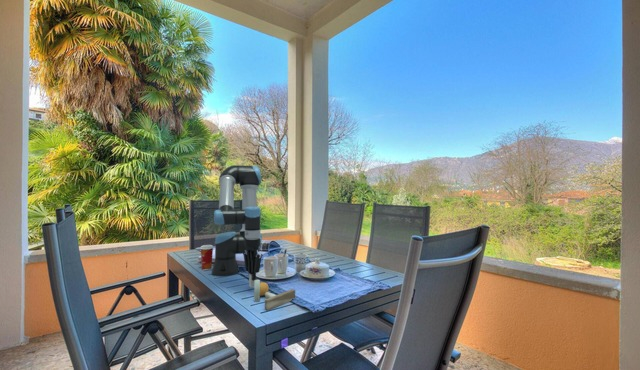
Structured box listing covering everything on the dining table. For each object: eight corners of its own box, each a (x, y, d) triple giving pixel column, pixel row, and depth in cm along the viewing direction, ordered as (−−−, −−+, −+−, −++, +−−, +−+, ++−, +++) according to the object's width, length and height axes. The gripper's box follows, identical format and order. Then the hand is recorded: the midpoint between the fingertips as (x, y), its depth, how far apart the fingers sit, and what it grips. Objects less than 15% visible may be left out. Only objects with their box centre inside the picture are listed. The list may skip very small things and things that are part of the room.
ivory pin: (263, 295, 129) (276, 300, 123) (267, 290, 130) (279, 295, 124) (266, 298, 130) (279, 303, 124) (269, 293, 131) (282, 299, 125)
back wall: (264, 309, 117) (264, 299, 117) (292, 297, 129) (292, 289, 129) (267, 310, 116) (267, 300, 116) (295, 298, 128) (295, 290, 128)
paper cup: (199, 267, 177) (200, 245, 177) (213, 266, 180) (213, 244, 180) (199, 270, 170) (200, 247, 170) (213, 269, 173) (213, 246, 173)
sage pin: (253, 300, 125) (253, 280, 126) (257, 299, 127) (257, 279, 127) (256, 302, 124) (256, 281, 124) (260, 300, 126) (261, 280, 126)
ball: (262, 291, 127) (259, 300, 130) (272, 286, 131) (269, 295, 134) (254, 282, 130) (252, 291, 133) (265, 277, 134) (262, 286, 137)
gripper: (238, 237, 140) (237, 285, 139) (254, 241, 131) (254, 291, 131) (250, 235, 145) (250, 281, 145) (267, 238, 137) (266, 287, 137)
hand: (252, 286), depth 138 cm, fingers closed
